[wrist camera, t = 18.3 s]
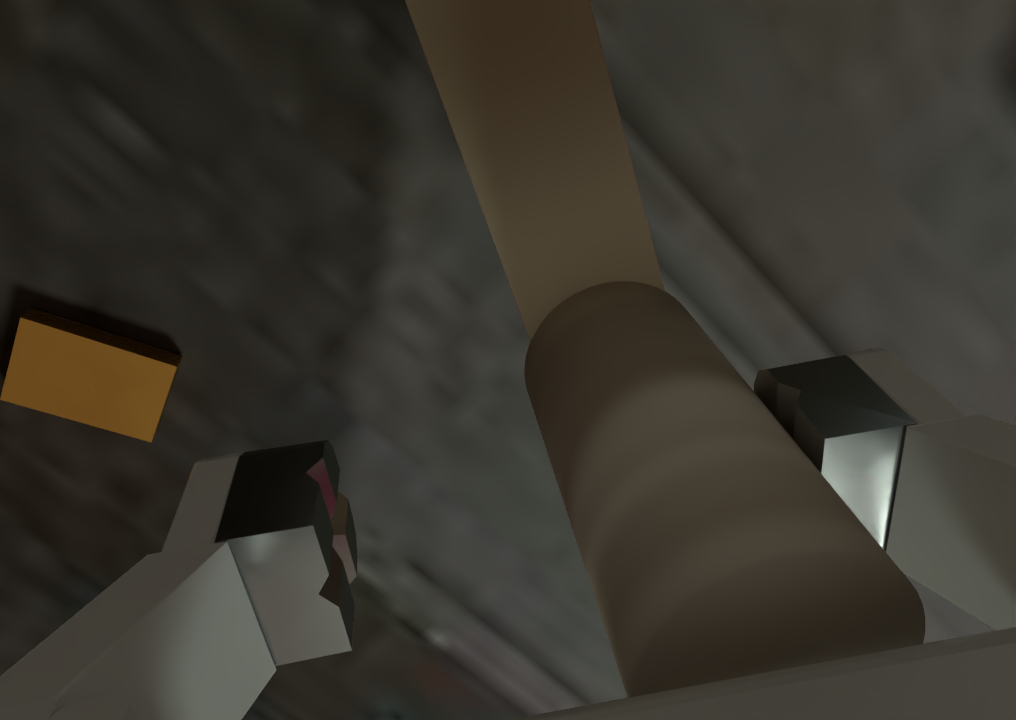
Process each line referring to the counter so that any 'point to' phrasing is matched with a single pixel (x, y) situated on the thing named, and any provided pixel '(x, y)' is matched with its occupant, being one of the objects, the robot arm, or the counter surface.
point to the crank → (645, 382)
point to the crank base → (89, 375)
